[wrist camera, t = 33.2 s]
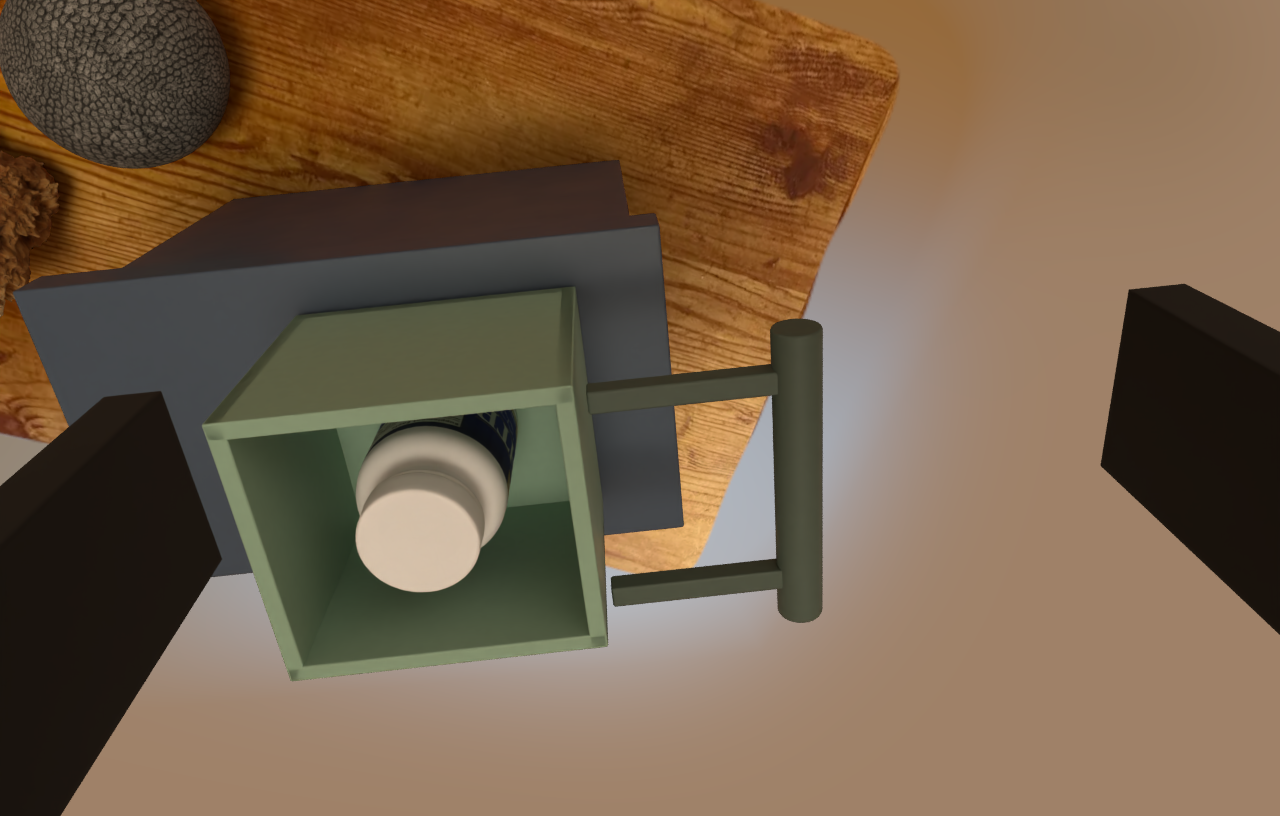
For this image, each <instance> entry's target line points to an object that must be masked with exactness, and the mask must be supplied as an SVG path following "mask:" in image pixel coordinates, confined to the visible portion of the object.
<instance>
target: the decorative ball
mask: <svg viewBox="0 0 1280 816" xmlns="http://www.w3.org/2000/svg"><path fill="white" fill-rule="evenodd" d="M0 67H1V70H2V74H3V77H4V79H5V82H6V84H7V86H8V89H9V91H10V93H11V94H12V96H13V98H14V100H15V101H16V103H17V105H18V106H19V108H20V109H21V111H22V112H23V113H24V114H25V116H26V117H27V118H28V119H29V120H30V121H31V122H32V123H33V124H34V125H35V126H36V127H37V128H38V129H39V130H40V131H41V132H43V133H44V134H45V135H46V136H47V137H49V138H50V139H51V140H53V141H54V142H56V143H57V144H59V145H60V146H62V147H63V148H65V149H67V150H69V151H70V152H72V153H74V154H76V155H78V156H81V157H83V158H85V159H88V160H91V161H94V162H96V163H100V164H104V165H108V166H113V167H120V168H149V167H156V166H160V165H164V164H168V163H171V162H174V161H176V160H178V159H181V158H183V157H185V156H187V155H189V154H190V153H192V152H193V151H195V150H196V149H197V148H199V147H200V146H201V145H202V144H203V143H204V142H205V141H206V140H207V139H208V138H209V137H210V136H211V135H212V133H213V132H214V131H215V129H216V128H217V126H218V125H219V123H220V121H221V119H222V117H223V115H224V112H225V109H226V107H227V102H228V98H229V91H230V70H229V63H228V58H227V55H226V51H225V48H224V45H223V42H222V40H221V37H220V35H219V33H218V31H217V29H216V27H215V25H214V23H213V22H212V20H211V19H210V17H209V16H208V14H207V13H206V12H205V10H204V9H203V8H202V6H201V5H200V4H199V3H198V2H197V1H196V0H7V1H6V3H5V5H4V8H3V10H2V13H1V16H0Z"/></svg>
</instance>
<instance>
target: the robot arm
mask: <svg viewBox="0 0 1280 816" xmlns="http://www.w3.org/2000/svg"><path fill="white" fill-rule="evenodd" d="M1101 467H1102V468H1104V469H1105V470H1106V471H1107V472H1108V473H1109V474H1110V475H1111V476H1112V477H1113V478H1114V479H1115V480H1117V482H1118V483H1120V484H1121V485H1122V486H1123V487H1124V488H1125V489H1126V490H1127V491H1128V492H1129V493H1130V494H1131V495H1132V496H1133V497H1134V498H1135V499H1136V500H1138V501H1139V502H1140V503H1141V504H1142V505H1143V506H1144V507H1145V508H1146V509H1147V510H1148V511H1149V512H1150V513H1151V514H1152V515H1153V516H1154V517H1155V518H1157V519H1158V520H1159V521H1160V522H1161V523H1162V524H1163V525H1164V526H1165V527H1166V528H1167V529H1168V530H1169V531H1170V532H1171V533H1172V534H1174V535H1175V536H1176V537H1177V538H1178V539H1179V540H1180V541H1181V542H1182V543H1183V544H1184V545H1185V546H1186V547H1187V548H1188V549H1189V550H1190V551H1192V552H1193V553H1194V554H1195V555H1196V556H1197V557H1198V558H1199V559H1200V560H1201V561H1202V562H1203V563H1204V564H1205V565H1206V566H1208V567H1209V568H1210V569H1211V570H1212V571H1213V572H1214V573H1215V574H1216V575H1217V576H1218V577H1219V578H1220V579H1221V580H1222V581H1223V582H1224V583H1226V584H1227V585H1228V586H1229V587H1230V588H1231V589H1232V590H1233V591H1234V592H1235V593H1236V594H1237V595H1238V596H1239V597H1240V598H1241V599H1242V600H1243V601H1245V602H1246V603H1247V604H1248V605H1249V606H1250V607H1251V608H1252V609H1253V610H1254V611H1255V612H1256V613H1257V614H1258V615H1259V616H1261V617H1262V618H1263V619H1264V620H1265V621H1266V622H1267V623H1268V624H1269V625H1270V626H1271V627H1272V628H1273V629H1274V630H1275V631H1276V632H1277V633H1278V634H1280V332H1279V331H1277V330H1275V329H1273V328H1271V327H1269V326H1267V325H1265V324H1263V323H1261V322H1259V321H1257V320H1255V319H1253V318H1251V317H1249V316H1247V315H1245V314H1243V313H1241V312H1239V311H1237V310H1235V309H1233V308H1231V307H1230V306H1228V305H1226V304H1224V303H1222V302H1220V301H1218V300H1216V299H1214V298H1212V297H1210V296H1208V295H1206V294H1204V293H1202V292H1200V291H1198V290H1196V289H1194V288H1192V287H1190V286H1188V285H1186V284H1178V285H1169V286H1160V287H1150V288H1140V289H1131V290H1129V292H1128V298H1127V304H1126V311H1125V317H1124V323H1123V329H1122V335H1121V342H1120V348H1119V354H1118V361H1117V367H1116V373H1115V379H1114V386H1113V391H1112V398H1111V404H1110V410H1109V416H1108V423H1107V429H1106V435H1105V441H1104V447H1103V454H1102V460H1101ZM221 560H222V557H221V554H220V552H219V549H218V546H217V543H216V541H215V538H214V535H213V532H212V530H211V527H210V524H209V521H208V519H207V516H206V513H205V510H204V508H203V505H202V502H201V499H200V497H199V494H198V491H197V488H196V486H195V483H194V480H193V477H192V475H191V472H190V469H189V466H188V464H187V461H186V458H185V455H184V453H183V450H182V447H181V444H180V442H179V439H178V436H177V433H176V431H175V428H174V425H173V422H172V420H171V417H170V414H169V411H168V409H167V406H166V403H165V400H164V398H163V395H162V392H161V391H155V392H145V393H136V394H126V395H117V396H107V397H103V398H102V399H101V400H100V401H99V402H97V403H96V404H95V405H94V406H93V407H92V408H90V409H89V410H88V411H87V412H86V413H85V414H83V415H82V416H81V417H80V418H79V419H78V420H76V421H75V422H74V423H73V424H72V425H71V426H70V427H68V428H67V429H66V430H65V431H64V432H63V433H61V434H60V435H59V436H58V437H57V438H56V439H54V440H53V441H52V442H51V443H50V444H49V445H47V446H46V447H45V448H44V449H43V450H42V451H41V452H39V453H38V454H37V455H36V456H35V457H34V458H32V459H31V460H30V461H29V462H28V463H27V464H25V465H24V466H23V467H22V468H21V469H20V470H18V471H17V472H16V473H15V474H14V475H13V476H11V477H10V478H9V479H8V480H7V481H6V482H5V483H3V484H2V485H1V486H0V816H61V814H62V812H63V811H64V809H65V808H66V806H67V805H68V803H69V801H70V800H71V798H72V796H73V795H74V793H75V792H76V790H77V788H78V787H79V786H80V784H81V782H82V781H83V779H84V778H85V776H86V774H87V773H88V771H89V770H90V768H91V767H92V765H93V763H94V762H95V760H96V759H97V757H98V755H99V754H100V752H101V751H102V749H103V747H104V746H105V744H106V743H107V741H108V739H109V738H110V736H111V735H112V733H113V732H114V730H115V728H116V727H117V725H118V724H119V722H120V721H121V719H122V717H123V716H124V714H125V713H126V711H127V709H128V708H129V706H130V705H131V703H132V701H133V700H134V698H135V697H136V695H137V694H138V692H139V690H140V689H141V687H142V685H143V684H144V682H145V681H146V679H147V678H148V676H149V675H150V673H151V671H152V669H153V668H154V667H155V665H156V663H157V662H158V660H159V659H160V657H161V656H162V654H163V652H164V651H165V649H166V647H167V646H168V644H169V643H170V641H171V640H172V638H173V636H174V635H175V633H176V632H177V630H178V629H179V627H180V625H181V624H182V622H183V620H184V619H185V617H186V616H187V614H188V613H189V611H190V609H191V608H192V606H193V605H194V603H195V602H196V600H197V598H198V597H199V595H200V594H201V592H202V591H203V589H204V587H205V586H206V584H207V583H208V581H209V579H210V577H211V576H212V575H213V573H214V571H215V570H216V568H217V567H218V565H219V564H220V562H221Z"/></svg>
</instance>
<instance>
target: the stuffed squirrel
mask: <svg viewBox="0 0 1280 816" xmlns="http://www.w3.org/2000/svg"><path fill="white" fill-rule="evenodd" d="M43 164H45V163H43V162H42V163H39V162H37V161H35V160H34V159H33V158H31V157H30V156H29V157H25V156H23V155H22V156H19V157H18V158H13V156H10V155H9V154H8V153H6V152H2V151H0V317H1V316H2V315H3V310H4V305H5V300H4V298H5V299H7V300H9V301H11V302H12V300H13V299H15V298H14V295H13V291H15V290H17V289H19V288H21V287H23V286H24V285H26V284H28V282H29V279H30V274H31V271H30V268H29V267H30V259H29V256H30V254H29V250H30V249H31V248H32V249H33V247H39V246H41V245H42V243H43V241H47V238H48V237H49V236H50V228H51V227H52V221H51V216H52V215H53V214H56V212H58V211H59V208H58V207H59V205H60V204H58V203H57V202H58V201H57V199H58V198H59V193H58V191H57V190H58V188H57V186H58V183H55V182H54V178H53V177H52V175H50V174H48V172H47V171H46V169H45V168H44V167H43Z"/></svg>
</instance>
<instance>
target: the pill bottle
mask: <svg viewBox="0 0 1280 816" xmlns="http://www.w3.org/2000/svg"><path fill="white" fill-rule="evenodd" d="M517 435H518V420H517V415H516V411H515V409H513V410H503V411H494V412H485V413H475V414H466V415H456V416H447V417H438V418H428V419H419V420H409V421H400V422H391V423H381V426H380V428H379V430H378V432H377V434H376V436H375V438H374V440H373V443H372V444H371V447H370V449H369V451H368V453H367V455H366V457H365V459H364V461H363V463H362V466H361V469H360V471H359V474H358V478H357V485H356V503H357V508H358V512H359V515H360V517H359V520H358V523H357V527H356V536H355V537H356V546H357V551H358V553H359V556H360V558H361V560H362V561H363V563H364V565H365V566H366V567H367V568H368V569H369V571H370V572H371V573H372V574H373V575H375V576H376V577H377V578H378V579H380V580H381V581H383V582H385V583H386V584H388V585H390V586H393V587H395V588H398V589H401V590H405V591H411V592H433V591H438V590H441V589H445V588H447V587H450V586H452V585H454V584H456V583H457V582H459V581H460V580H461V579H463V578H464V577H465V576H466V575H467V574H468V573H469V572H470V571H471V569H472V568H473V567H474V565H475V563H476V561H477V559H478V556H479V553H480V548H481V547H483V546H484V545H485V544H486V543H487V542H488V541H489V540H490V539H491V538H492V537H493V536H494V535H495V533H496V532H497V530H498V529H499V527H500V525H501V523H502V520H503V518H504V515H505V511H506V507H507V503H508V496H509V489H510V484H511V478H512V472H513V465H514V457H515V450H516V443H517Z"/></svg>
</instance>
